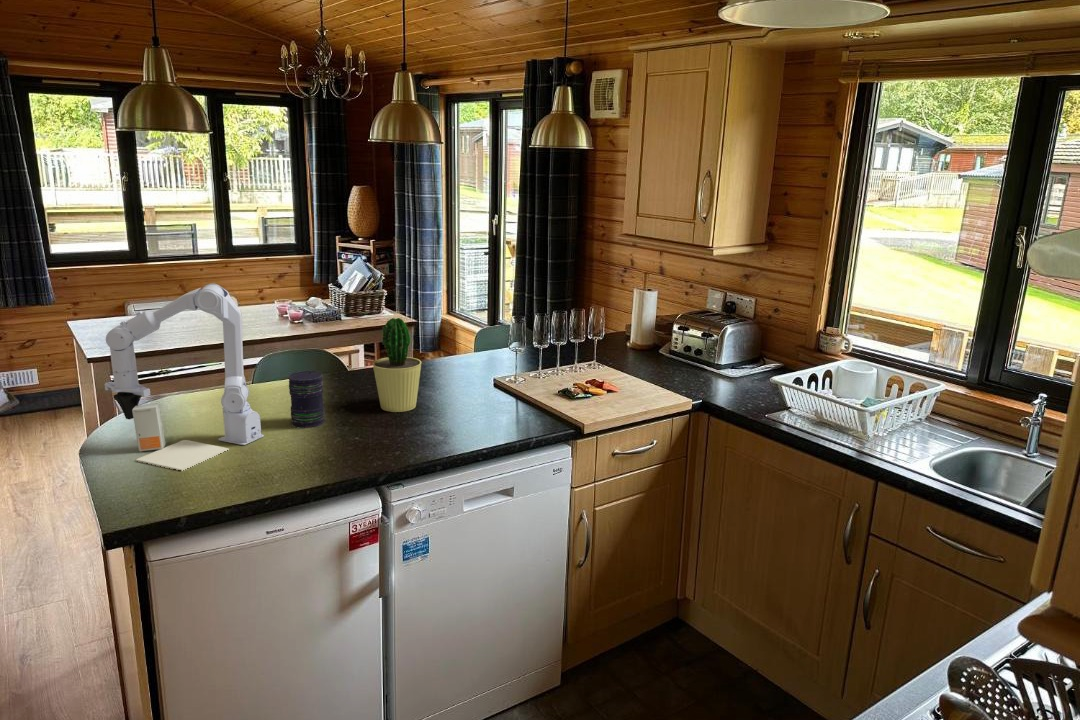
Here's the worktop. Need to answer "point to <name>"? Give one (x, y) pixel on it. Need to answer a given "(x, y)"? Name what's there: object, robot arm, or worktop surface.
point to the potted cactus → (397, 370)
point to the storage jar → (306, 399)
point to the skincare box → (149, 427)
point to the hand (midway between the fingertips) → (130, 418)
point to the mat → (182, 455)
